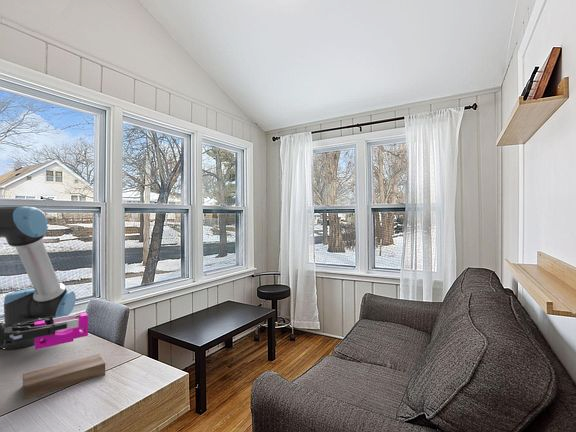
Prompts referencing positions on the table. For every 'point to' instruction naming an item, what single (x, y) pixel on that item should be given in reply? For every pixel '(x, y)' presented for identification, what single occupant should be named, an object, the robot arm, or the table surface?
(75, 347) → the table surface
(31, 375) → the base brick
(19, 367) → the table surface
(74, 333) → the toy block
